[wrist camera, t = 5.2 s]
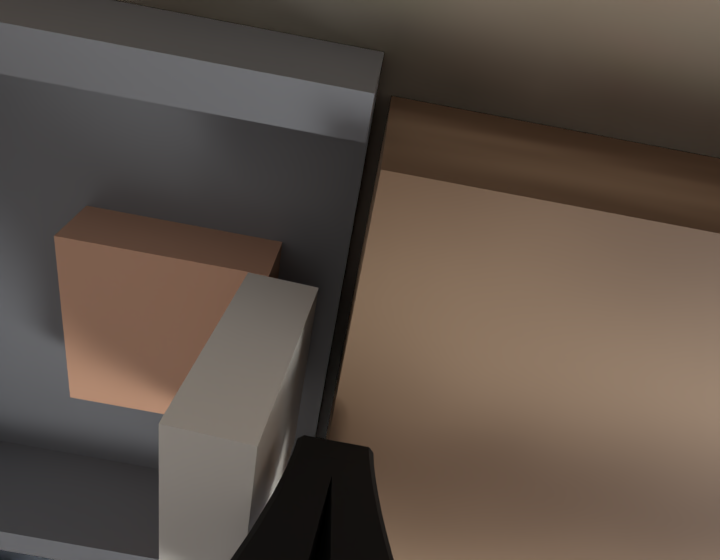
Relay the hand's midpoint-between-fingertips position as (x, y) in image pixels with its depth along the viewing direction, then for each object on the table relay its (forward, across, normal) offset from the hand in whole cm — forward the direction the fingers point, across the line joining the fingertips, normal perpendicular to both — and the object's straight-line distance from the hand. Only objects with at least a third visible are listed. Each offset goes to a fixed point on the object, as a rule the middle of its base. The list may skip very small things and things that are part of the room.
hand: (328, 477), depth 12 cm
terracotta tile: (+3, +4, 0) cm, 5 cm away
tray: (+5, +6, 0) cm, 7 cm away
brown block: (+5, -6, 0) cm, 8 cm away
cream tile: (+1, +1, 0) cm, 1 cm away
